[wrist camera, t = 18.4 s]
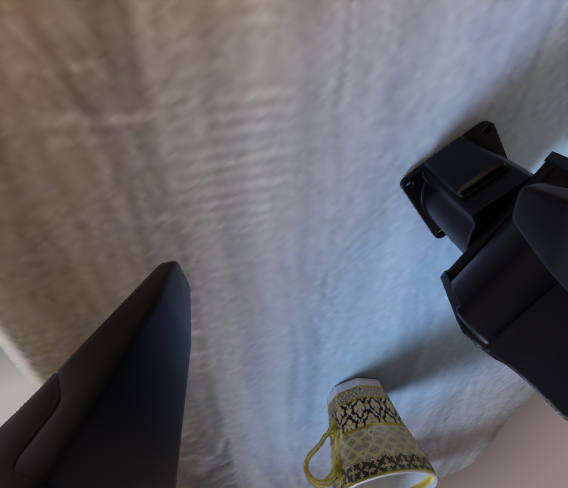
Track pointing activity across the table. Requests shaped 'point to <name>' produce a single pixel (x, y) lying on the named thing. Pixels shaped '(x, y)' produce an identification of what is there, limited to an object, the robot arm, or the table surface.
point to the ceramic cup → (370, 442)
